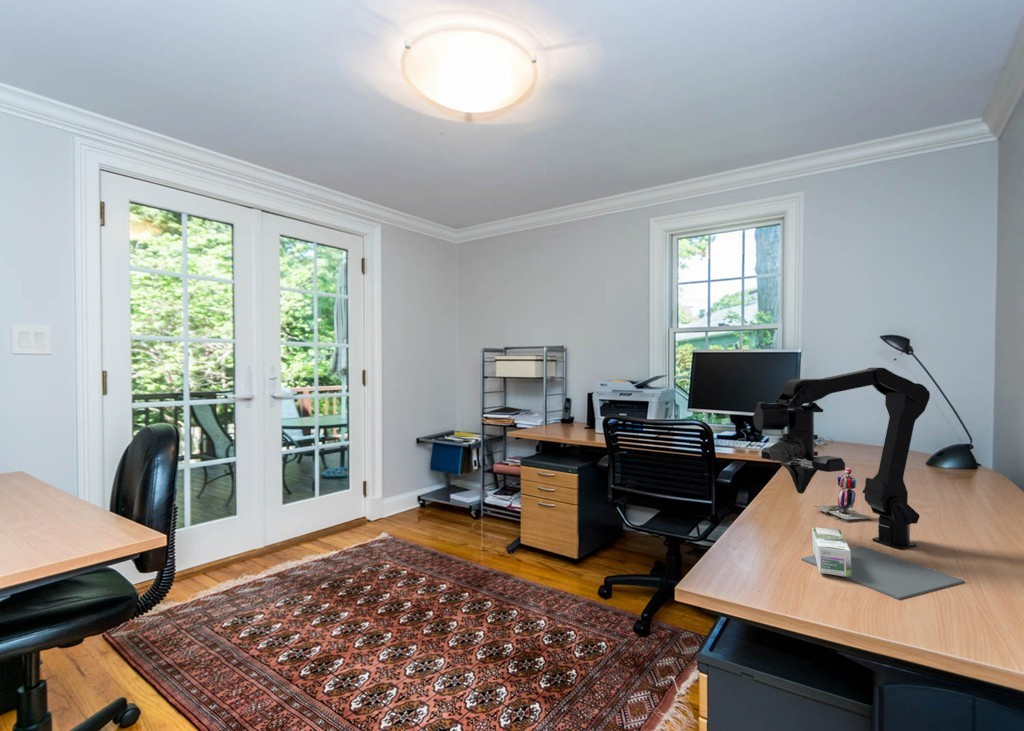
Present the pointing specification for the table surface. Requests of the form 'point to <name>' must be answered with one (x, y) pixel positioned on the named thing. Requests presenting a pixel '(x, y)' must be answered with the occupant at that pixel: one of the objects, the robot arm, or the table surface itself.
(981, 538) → the table surface
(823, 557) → the syrup box
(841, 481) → the statue
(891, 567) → the topple mat
